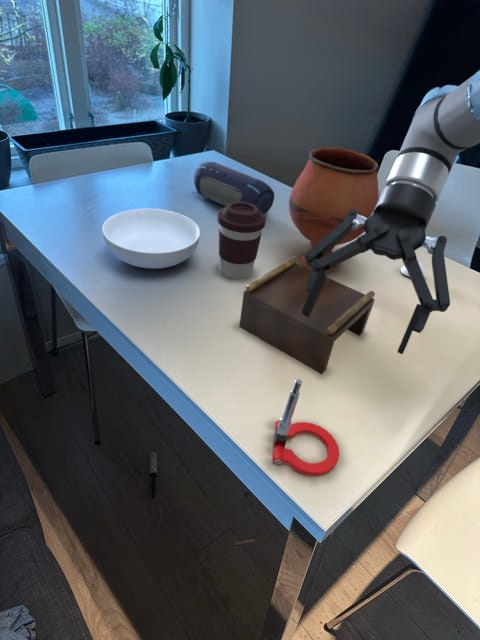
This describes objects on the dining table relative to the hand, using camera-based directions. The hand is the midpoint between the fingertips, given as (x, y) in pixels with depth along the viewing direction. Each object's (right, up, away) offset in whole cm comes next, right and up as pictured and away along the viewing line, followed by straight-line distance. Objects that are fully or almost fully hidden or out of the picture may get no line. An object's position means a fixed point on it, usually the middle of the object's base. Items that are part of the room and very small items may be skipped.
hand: (351, 332), depth 61 cm
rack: (-3, 0, +24) cm, 24 cm away
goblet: (+4, +15, +45) cm, 48 cm away
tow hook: (-6, -17, +2) cm, 18 cm away
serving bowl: (-35, +16, +40) cm, 56 cm away
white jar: (+26, +13, +46) cm, 54 cm away
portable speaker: (-18, +34, +67) cm, 77 cm away
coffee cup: (-16, +12, +38) cm, 43 cm away
